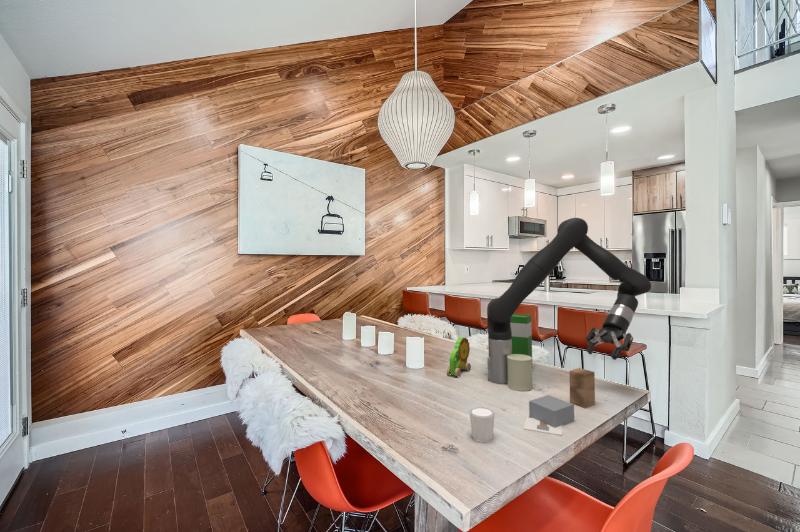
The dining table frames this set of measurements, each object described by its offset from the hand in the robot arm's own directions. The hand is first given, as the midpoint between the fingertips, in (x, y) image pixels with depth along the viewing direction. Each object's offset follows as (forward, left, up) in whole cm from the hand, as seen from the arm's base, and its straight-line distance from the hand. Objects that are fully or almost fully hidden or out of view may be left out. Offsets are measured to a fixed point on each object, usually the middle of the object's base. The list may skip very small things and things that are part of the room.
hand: (600, 355), depth 124 cm
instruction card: (-17, -31, -15) cm, 38 cm away
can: (-27, 0, -15) cm, 31 cm away
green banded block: (-34, +25, -15) cm, 45 cm away
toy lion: (-53, +9, -15) cm, 56 cm away
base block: (-15, -25, -15) cm, 33 cm away
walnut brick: (-6, -9, -15) cm, 18 cm away
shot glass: (-32, -44, -15) cm, 57 cm away
